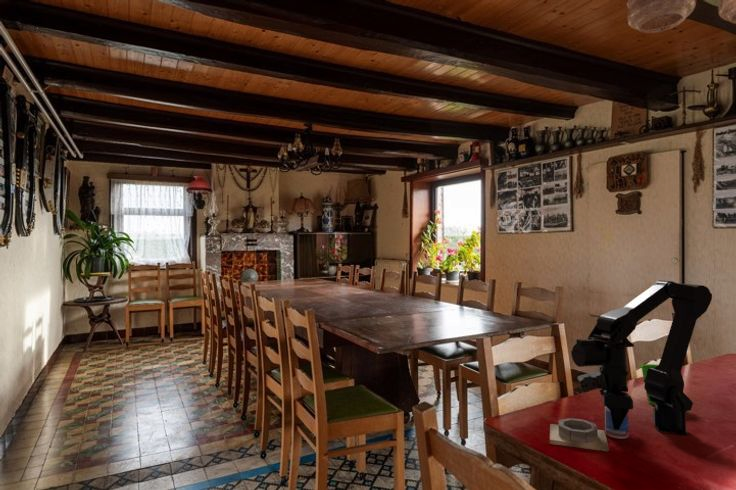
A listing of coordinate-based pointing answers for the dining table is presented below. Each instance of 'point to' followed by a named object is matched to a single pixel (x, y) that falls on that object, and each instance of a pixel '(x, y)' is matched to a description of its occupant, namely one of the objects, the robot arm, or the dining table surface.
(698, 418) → the dining table surface
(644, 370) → the cup
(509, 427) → the dining table surface
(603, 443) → the collar
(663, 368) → the robot arm
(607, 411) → the pill bottle
